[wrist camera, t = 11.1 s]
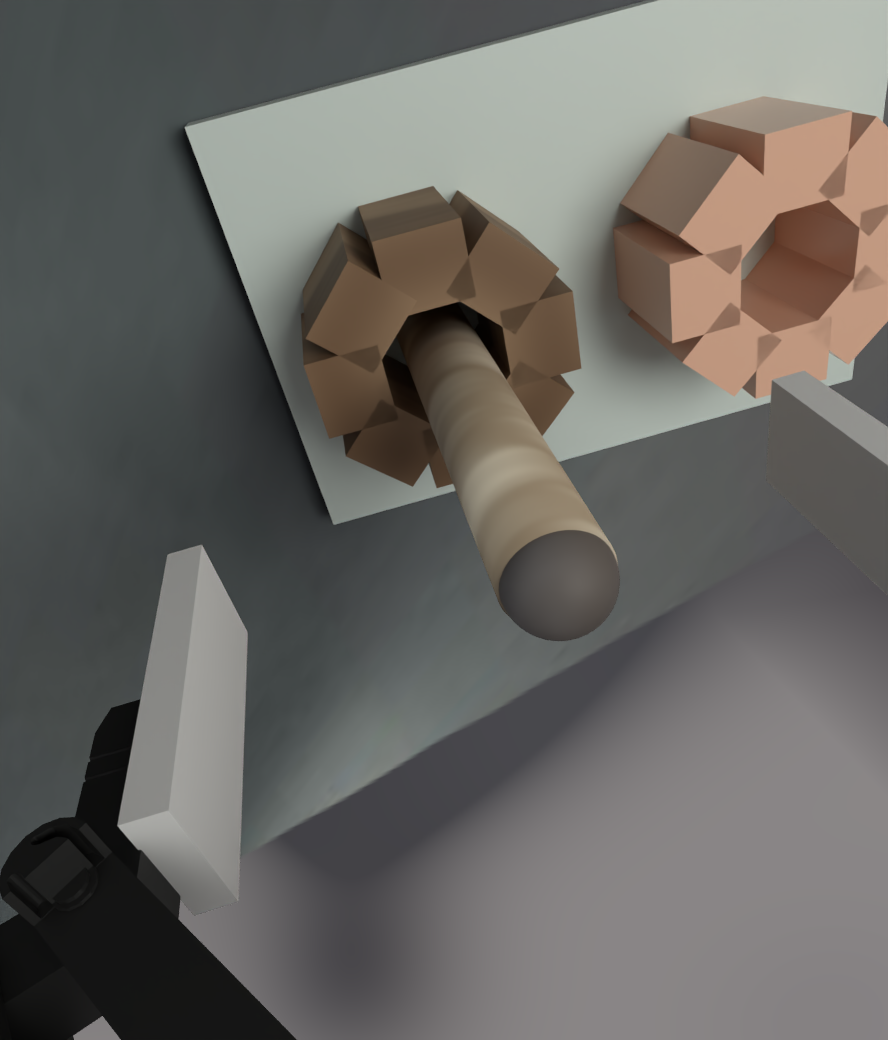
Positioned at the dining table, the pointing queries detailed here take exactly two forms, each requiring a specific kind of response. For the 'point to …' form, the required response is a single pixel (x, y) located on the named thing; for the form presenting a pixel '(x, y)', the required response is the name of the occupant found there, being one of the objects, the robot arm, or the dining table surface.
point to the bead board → (525, 185)
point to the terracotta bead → (739, 224)
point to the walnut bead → (420, 287)
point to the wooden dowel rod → (510, 484)
